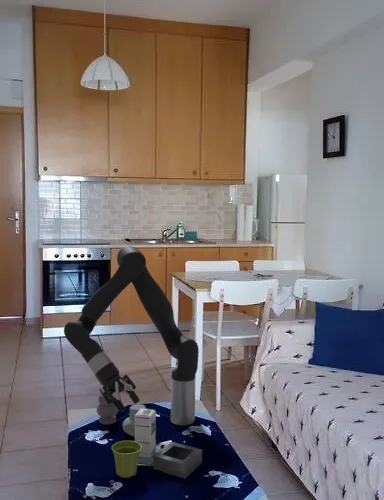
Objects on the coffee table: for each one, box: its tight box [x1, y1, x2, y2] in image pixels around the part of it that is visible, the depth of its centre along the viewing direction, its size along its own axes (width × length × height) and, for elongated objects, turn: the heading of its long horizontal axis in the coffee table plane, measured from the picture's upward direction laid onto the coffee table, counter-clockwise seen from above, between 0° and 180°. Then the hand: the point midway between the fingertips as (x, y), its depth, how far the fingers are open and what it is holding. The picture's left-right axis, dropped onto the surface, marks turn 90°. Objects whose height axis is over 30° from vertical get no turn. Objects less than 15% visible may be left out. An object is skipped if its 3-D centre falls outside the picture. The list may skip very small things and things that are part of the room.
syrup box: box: [134, 408, 157, 458], centre depth 181 cm, size 6×6×14 cm
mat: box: [138, 447, 163, 467], centre depth 182 cm, size 11×11×1 cm
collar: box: [152, 441, 203, 480], centre depth 175 cm, size 12×12×4 cm
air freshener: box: [122, 403, 147, 438], centre depth 198 cm, size 11×8×10 cm
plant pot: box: [111, 440, 142, 479], centre depth 169 cm, size 9×9×9 cm
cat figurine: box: [96, 392, 119, 426], centre depth 208 cm, size 8×8×12 cm
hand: (130, 406), depth 183 cm, fingers open, 8 cm apart
